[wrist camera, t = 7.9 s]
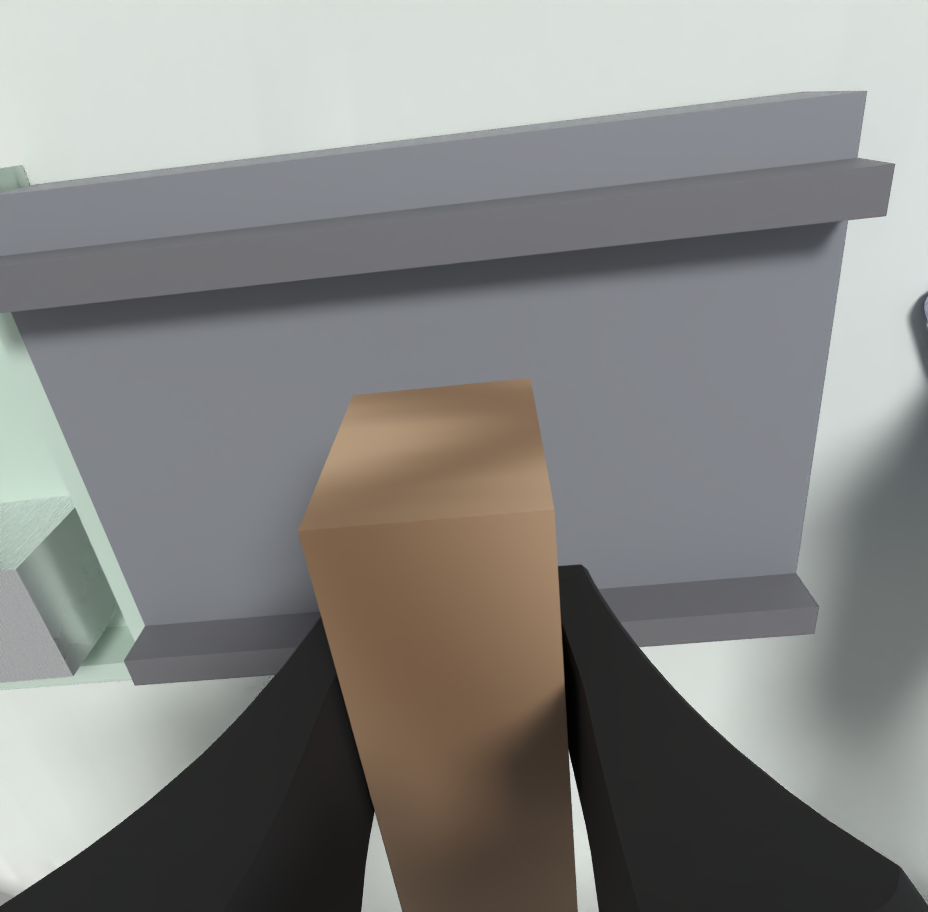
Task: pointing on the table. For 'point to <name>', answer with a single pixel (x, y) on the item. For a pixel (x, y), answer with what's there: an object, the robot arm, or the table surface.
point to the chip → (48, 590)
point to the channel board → (454, 351)
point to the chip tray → (54, 487)
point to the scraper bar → (451, 641)
